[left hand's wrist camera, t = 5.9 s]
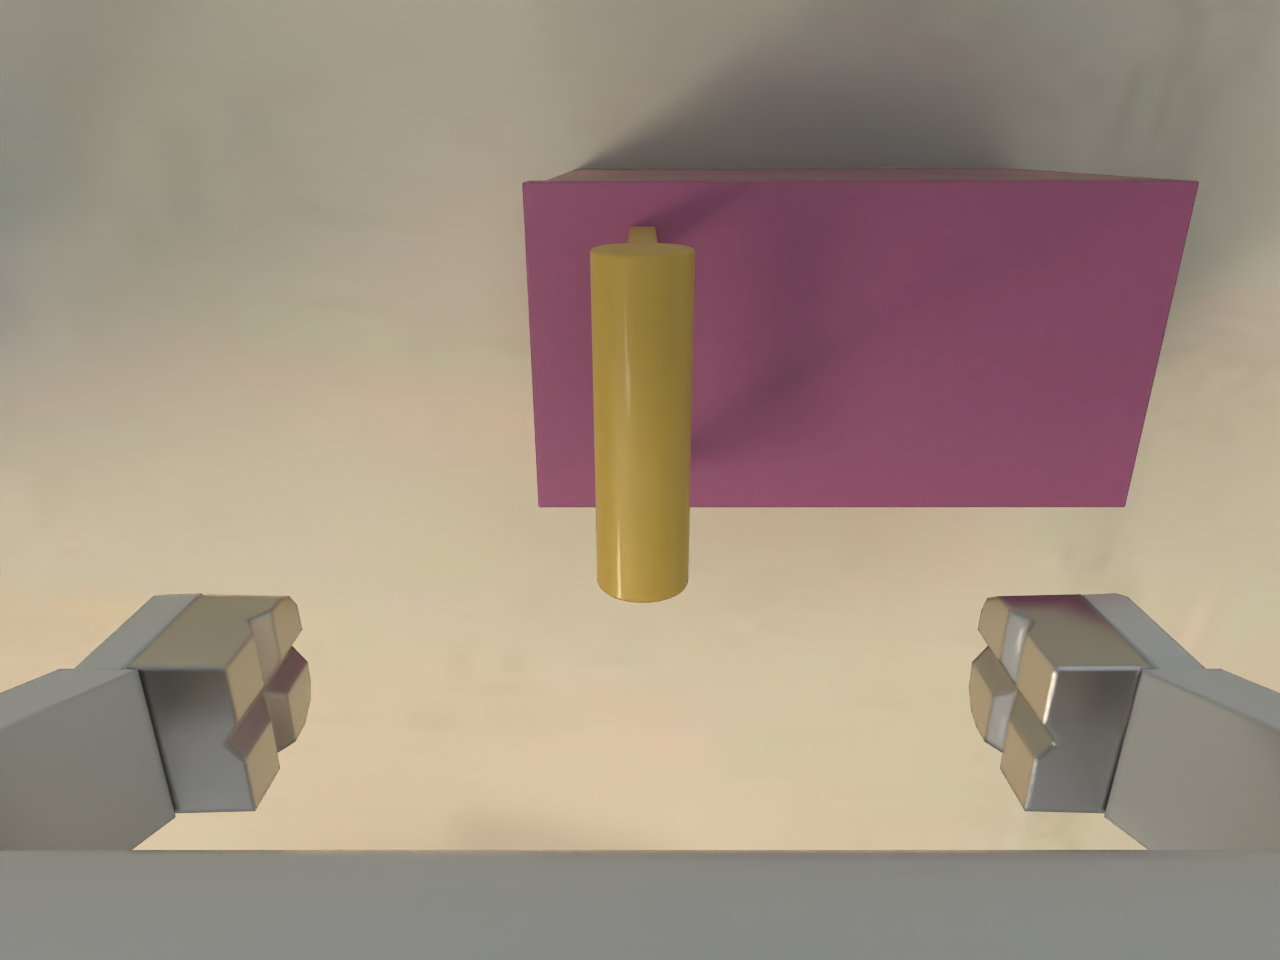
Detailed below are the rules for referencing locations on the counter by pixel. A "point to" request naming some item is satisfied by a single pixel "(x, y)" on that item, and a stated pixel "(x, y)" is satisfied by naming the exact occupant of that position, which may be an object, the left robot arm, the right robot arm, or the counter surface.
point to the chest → (826, 174)
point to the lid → (838, 348)
